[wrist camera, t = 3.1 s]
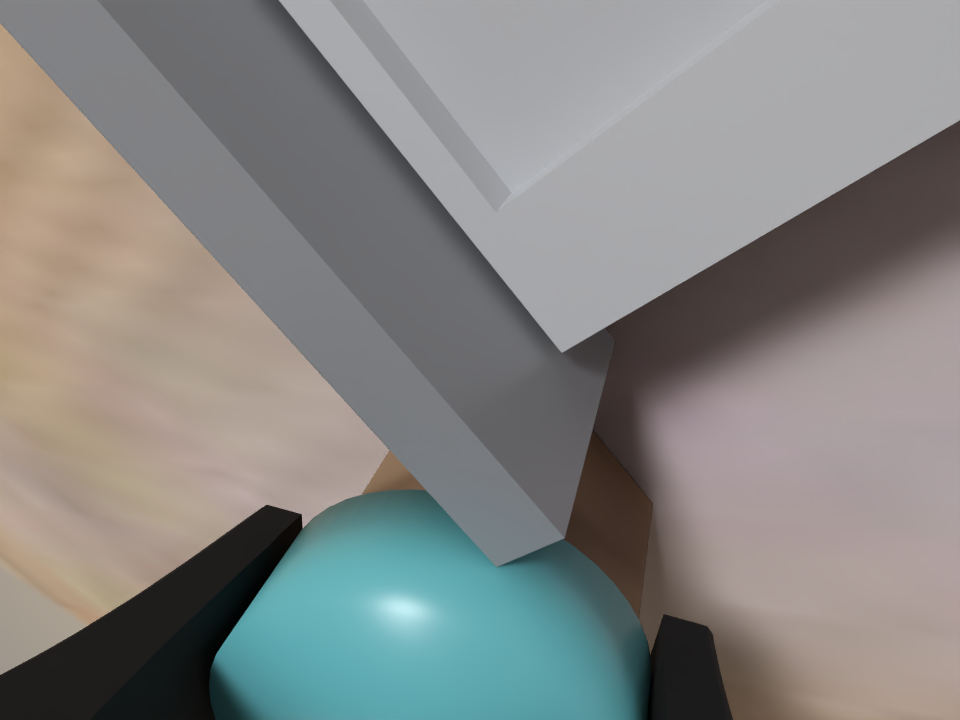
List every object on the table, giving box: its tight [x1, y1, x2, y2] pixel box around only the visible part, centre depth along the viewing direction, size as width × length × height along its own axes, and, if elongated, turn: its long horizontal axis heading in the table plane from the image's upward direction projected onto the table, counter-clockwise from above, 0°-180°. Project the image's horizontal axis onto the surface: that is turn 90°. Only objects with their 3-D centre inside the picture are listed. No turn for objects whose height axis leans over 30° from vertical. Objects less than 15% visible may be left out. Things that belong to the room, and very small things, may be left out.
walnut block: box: [362, 430, 653, 619], centre depth 13 cm, size 4×4×4 cm
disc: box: [209, 489, 651, 720], centre depth 10 cm, size 6×6×2 cm
